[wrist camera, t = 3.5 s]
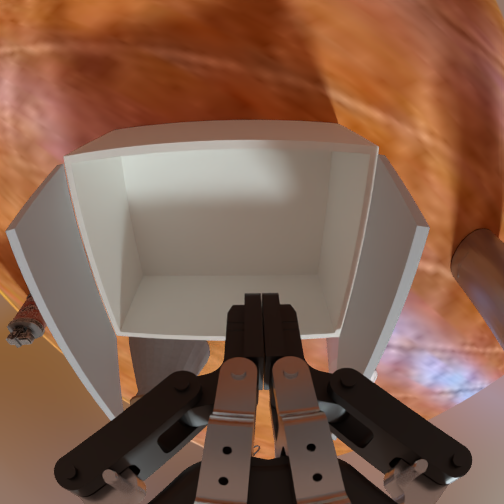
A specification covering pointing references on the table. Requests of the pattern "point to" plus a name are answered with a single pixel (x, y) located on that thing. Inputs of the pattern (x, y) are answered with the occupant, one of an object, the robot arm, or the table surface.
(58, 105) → the table surface
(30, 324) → the lighter
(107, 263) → the carton
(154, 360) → the coffee pot
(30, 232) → the flap
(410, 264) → the flap
